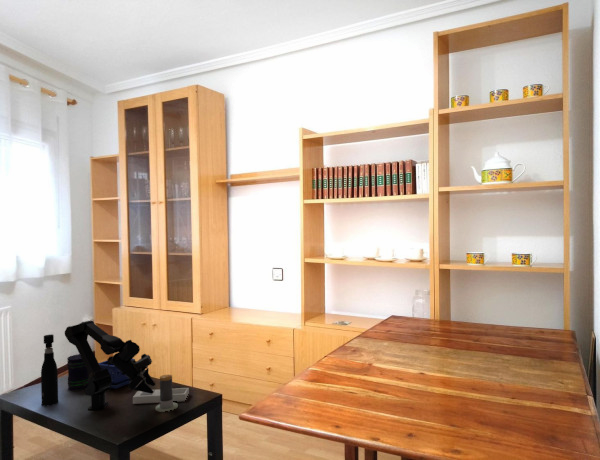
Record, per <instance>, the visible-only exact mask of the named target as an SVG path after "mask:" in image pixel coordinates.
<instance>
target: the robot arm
mask: <svg viewBox="0 0 600 460" xmlns="http://www.w3.org/2000/svg"><path fill="white" fill-rule="evenodd" d="M64 336H65V338H66V339H67V341H68V343H70V344H72V345H73V346H75V348H76V350H77V352H78V354H80V356H81V358H82V360H83V362H84V364H85V366H86V368H87V371H88V373H89V379H88V383H89V385H88V387H87V388H86V389H84V392H85V396H89V397H90V406H88V408H87V410H88V411H92V410H93V411H95V410H96V411H97V410H104V409H105V408H107V406H108V405H109V402H107V400H106V399H107V397H106V392H108V391H110V390H111V389H112V388H111V384H112V378H111V375H110V374H109V371H108V369H107V368H106V369H102V368H101V367H100V365H99V363H100V362H99V361H98V359H97V357H96V355H95V353H94V351H93V348H92V347H91V345H90V343H89V341H88V337H91V339H93V340H94V341H95V342H97V344H99V345H100V350H102V352H103V353H104V354H105V355H108V356H109V357H108V358H107V359H106V361H108V366H109V365H110V364H111V363H112V364H113V365H114V366H115V367H116V368H118V369H119V370H120V371H121V372H122V373H121V374H122V375H124V374H125V375H126V376H127V377H128V378H130V379H129V381H130V382H129V384H128V389H130V390H131V391H136V392H138V391H142V392H146V393H151V394H152V393H153V390H154V389H152V388H151V386H152V387H155V386H156V382H155V381H154V379H153V378H152V376H151V375H150V373H149V366H150V365H152V363H153V360H152V359H151V356H150V355H149V354H146V353H143V354H141V356H140V358H139V359H138V360H137V361H136V359H135V360H131V359H134V358H135V357H136V356H137V355H138V354H139V353H140V350H141V348H140V345H139V344H137V343H136V342H134V341H132V340H131V339H128V340H126V341H124V340H123V339H122V338H120V337H118V336H116V335H111V334H108V333H107V332H106V331H104V329H102V328H101V327H99V326H98V325H97V324H96V323H95V322H94V321H93V320H85V321H82V322H81V323H78V324H75V325H69V326H67V327H66V328H65V331H64ZM113 354H114V355H113ZM110 355H111V356H110Z"/></svg>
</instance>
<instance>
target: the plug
mask: <svg viewBox="0 0 600 460" xmlns="http://www.w3.org/2000/svg"><path fill="white" fill-rule="evenodd" d="M159 389H160V402H159V404H160V408H161V409H168V408H171V407H173V393H172V389H173V375H172V374H164V375H160V376H159Z"/></svg>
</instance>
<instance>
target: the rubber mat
mask: <svg viewBox="0 0 600 460" xmlns="http://www.w3.org/2000/svg"><path fill="white" fill-rule="evenodd" d="M178 407H179V404H178V403H176V402H173V407H171V408H168V409H161V408H160V403H158V404H157V405H156V406H155V411H156V412H160V413H166V412H165V411H168V412H171V411H170V410H172V411H174V409H175V410H177V408H178Z"/></svg>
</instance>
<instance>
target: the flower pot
mask: <svg viewBox="0 0 600 460" xmlns="http://www.w3.org/2000/svg"><path fill="white" fill-rule="evenodd" d="M131 360H135V361H136V359H135V358H132V359H131ZM98 363H99V365H100V367H101V368H102V369H106V368H107V369H108V371H109V374H110V375H111V378H112V384H111V388H110V389H116V390H117V389H119V388H122V387H123V386H126V385H127V386H128V385H129V382H130V381H129V379H130V378H128V377H127V376H126V375H125V374H124V375H122V374H121V373H122V372H121V371H120V370H119V369H118V368H116V367H115V366H114V365H113V364H112V363H111V364H110V365H109V366H108V361H107V360H105V361H101V362H98Z"/></svg>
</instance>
